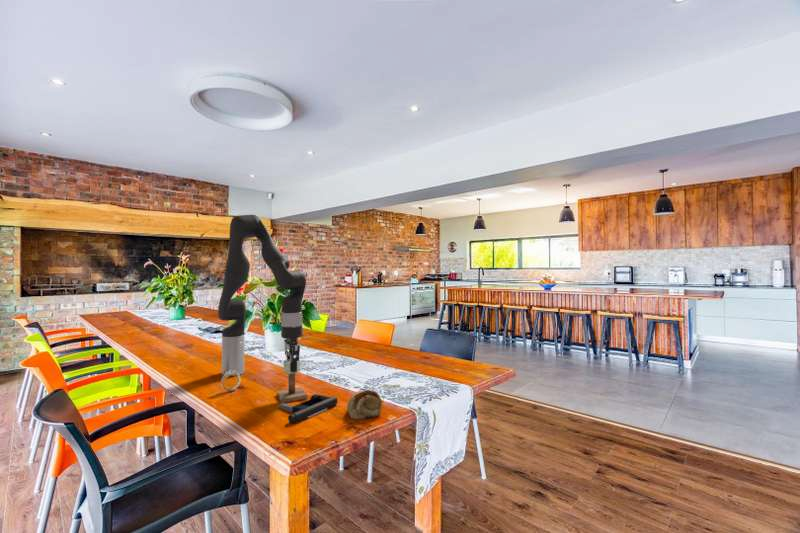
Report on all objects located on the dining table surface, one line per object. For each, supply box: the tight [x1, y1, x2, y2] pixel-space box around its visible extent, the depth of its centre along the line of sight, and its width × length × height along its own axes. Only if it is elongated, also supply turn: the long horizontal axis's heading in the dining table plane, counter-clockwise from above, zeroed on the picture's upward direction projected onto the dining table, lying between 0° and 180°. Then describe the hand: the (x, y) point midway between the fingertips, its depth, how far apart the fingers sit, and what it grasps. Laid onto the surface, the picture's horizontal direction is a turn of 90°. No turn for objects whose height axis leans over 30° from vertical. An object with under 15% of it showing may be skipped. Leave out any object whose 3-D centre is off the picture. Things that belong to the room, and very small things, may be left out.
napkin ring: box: [283, 358, 301, 375], centre depth 136 cm, size 6×6×4 cm
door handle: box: [278, 393, 338, 424], centre depth 125 cm, size 3×20×16 cm
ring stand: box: [276, 373, 308, 404], centre depth 136 cm, size 9×9×12 cm
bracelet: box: [221, 370, 242, 392], centre depth 142 cm, size 7×3×8 cm, turn 132°
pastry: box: [347, 389, 383, 420], centre depth 123 cm, size 14×12×8 cm
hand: (291, 369), depth 136 cm, fingers closed on napkin ring, 5 cm apart
